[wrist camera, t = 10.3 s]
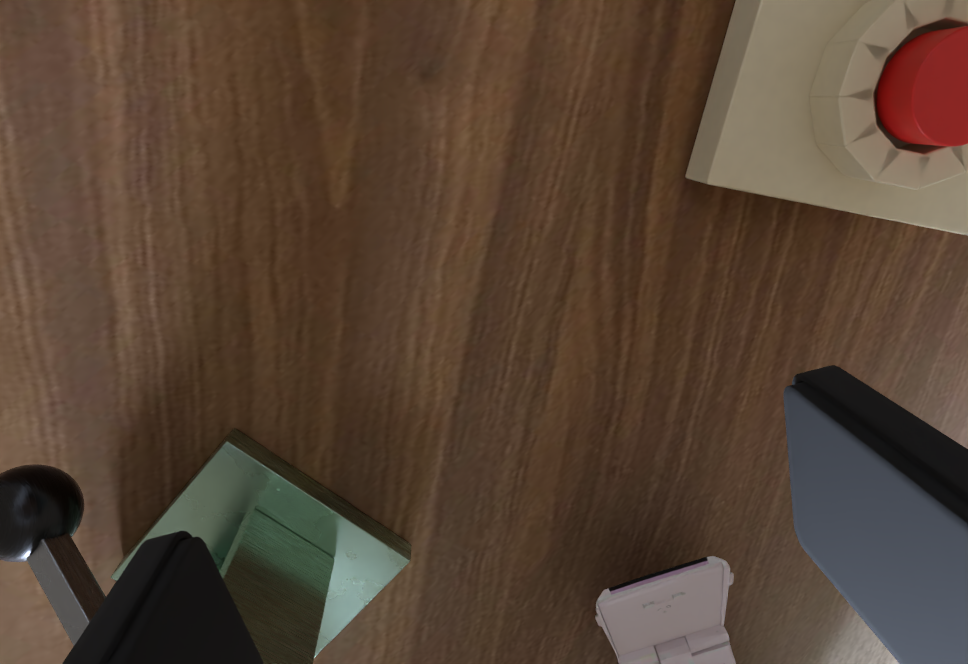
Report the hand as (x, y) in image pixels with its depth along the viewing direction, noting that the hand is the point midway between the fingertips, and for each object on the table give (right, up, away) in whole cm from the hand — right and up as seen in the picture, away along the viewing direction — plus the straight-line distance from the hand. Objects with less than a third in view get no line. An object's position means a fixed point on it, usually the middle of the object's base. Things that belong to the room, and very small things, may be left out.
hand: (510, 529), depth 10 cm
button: (+15, +11, +12) cm, 22 cm away
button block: (+14, +13, +15) cm, 24 cm away
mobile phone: (+10, -16, +25) cm, 31 cm away
